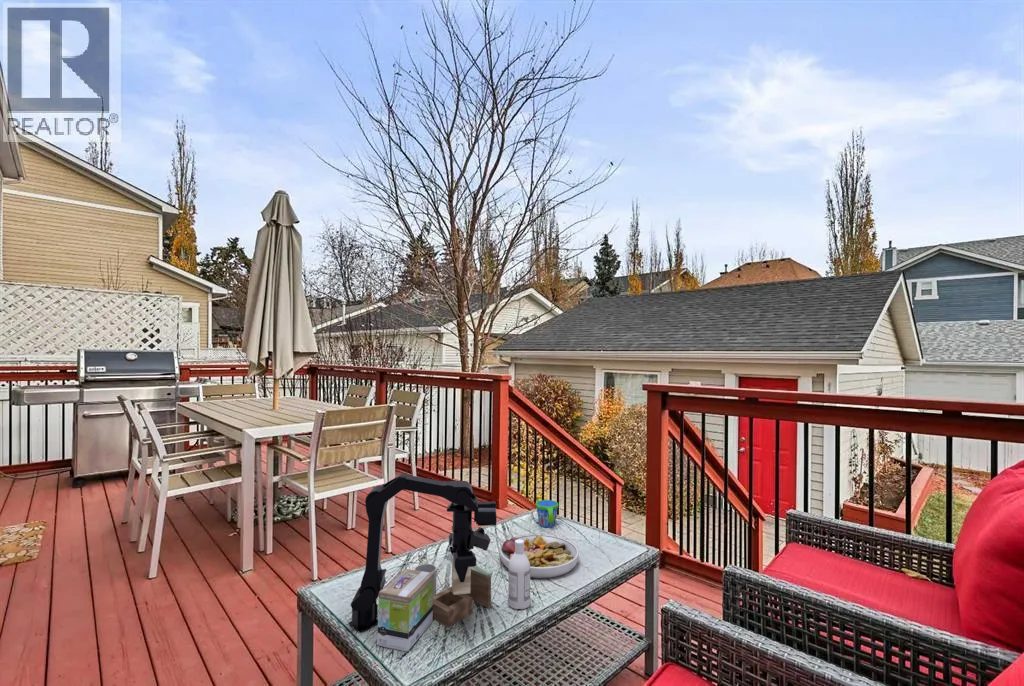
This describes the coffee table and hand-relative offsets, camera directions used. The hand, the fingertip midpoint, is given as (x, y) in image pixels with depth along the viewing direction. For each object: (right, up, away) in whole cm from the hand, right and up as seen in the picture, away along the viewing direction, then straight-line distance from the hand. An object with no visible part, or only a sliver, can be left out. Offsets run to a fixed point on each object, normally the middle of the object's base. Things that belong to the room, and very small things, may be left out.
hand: (461, 577), depth 138 cm
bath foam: (+18, -13, +9) cm, 24 cm away
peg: (0, -4, 0) cm, 4 cm away
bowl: (+26, -14, +38) cm, 48 cm away
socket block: (-2, -13, +6) cm, 14 cm away
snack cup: (+32, -15, +77) cm, 84 cm away
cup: (-14, -13, +14) cm, 24 cm away
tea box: (-15, -13, -7) cm, 21 cm away
